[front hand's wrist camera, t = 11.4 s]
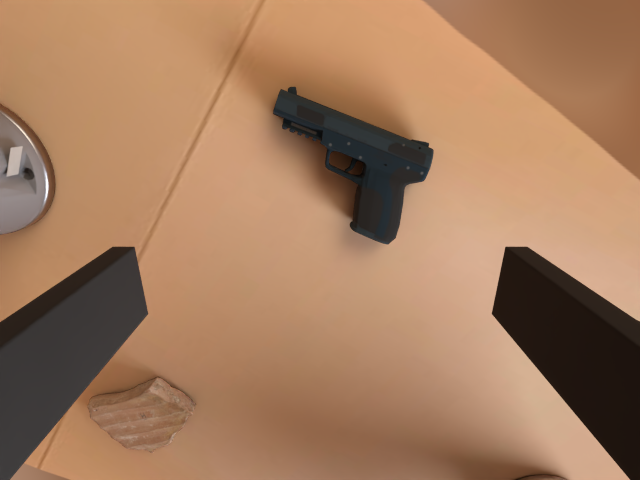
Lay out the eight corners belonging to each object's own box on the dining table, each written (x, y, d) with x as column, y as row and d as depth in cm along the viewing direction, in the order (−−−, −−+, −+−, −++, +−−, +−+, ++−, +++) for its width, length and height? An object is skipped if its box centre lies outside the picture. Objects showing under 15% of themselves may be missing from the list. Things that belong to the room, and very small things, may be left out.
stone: (144, 447, 55) (137, 462, 53) (90, 397, 52) (79, 411, 49) (209, 414, 53) (204, 428, 50) (158, 359, 49) (149, 372, 47)
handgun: (252, 188, 41) (285, 83, 37) (389, 238, 43) (434, 143, 39) (246, 195, 38) (281, 81, 34) (394, 248, 40) (443, 146, 36)
